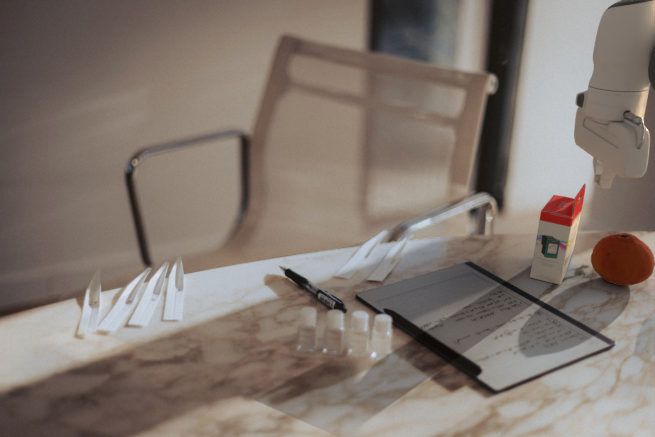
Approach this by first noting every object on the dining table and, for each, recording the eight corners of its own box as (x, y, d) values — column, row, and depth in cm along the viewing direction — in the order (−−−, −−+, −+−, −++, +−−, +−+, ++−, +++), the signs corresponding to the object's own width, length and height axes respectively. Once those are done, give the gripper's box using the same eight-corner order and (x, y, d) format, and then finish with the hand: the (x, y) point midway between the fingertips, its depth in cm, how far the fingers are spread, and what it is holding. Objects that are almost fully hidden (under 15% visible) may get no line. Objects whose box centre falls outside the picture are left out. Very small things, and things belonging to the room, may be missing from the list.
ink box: (541, 258, 106) (555, 176, 100) (571, 265, 104) (588, 182, 98) (528, 278, 99) (543, 191, 94) (560, 286, 97) (577, 198, 91)
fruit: (575, 272, 102) (584, 227, 98) (618, 265, 104) (628, 221, 101) (614, 298, 94) (626, 251, 91) (660, 290, 97) (672, 243, 94)
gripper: (668, 119, 90) (650, 208, 95) (608, 92, 109) (596, 167, 114) (624, 120, 90) (609, 209, 95) (572, 92, 109) (561, 168, 114)
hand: (601, 186), depth 105 cm, fingers closed
